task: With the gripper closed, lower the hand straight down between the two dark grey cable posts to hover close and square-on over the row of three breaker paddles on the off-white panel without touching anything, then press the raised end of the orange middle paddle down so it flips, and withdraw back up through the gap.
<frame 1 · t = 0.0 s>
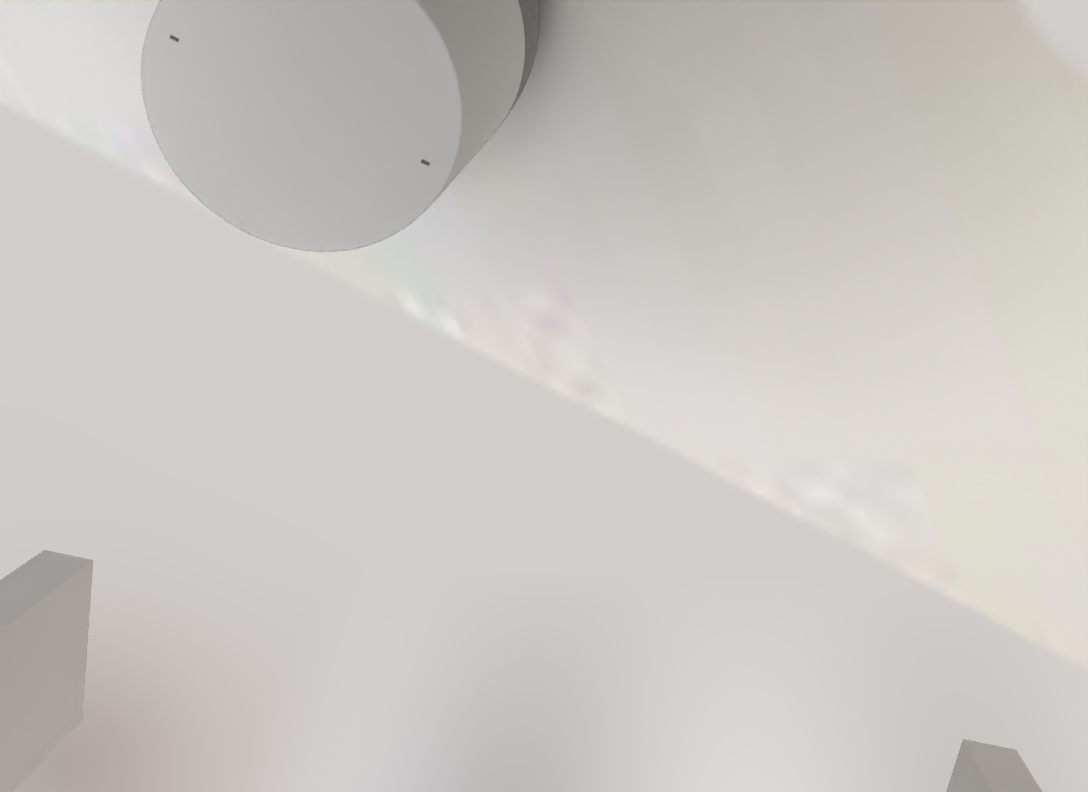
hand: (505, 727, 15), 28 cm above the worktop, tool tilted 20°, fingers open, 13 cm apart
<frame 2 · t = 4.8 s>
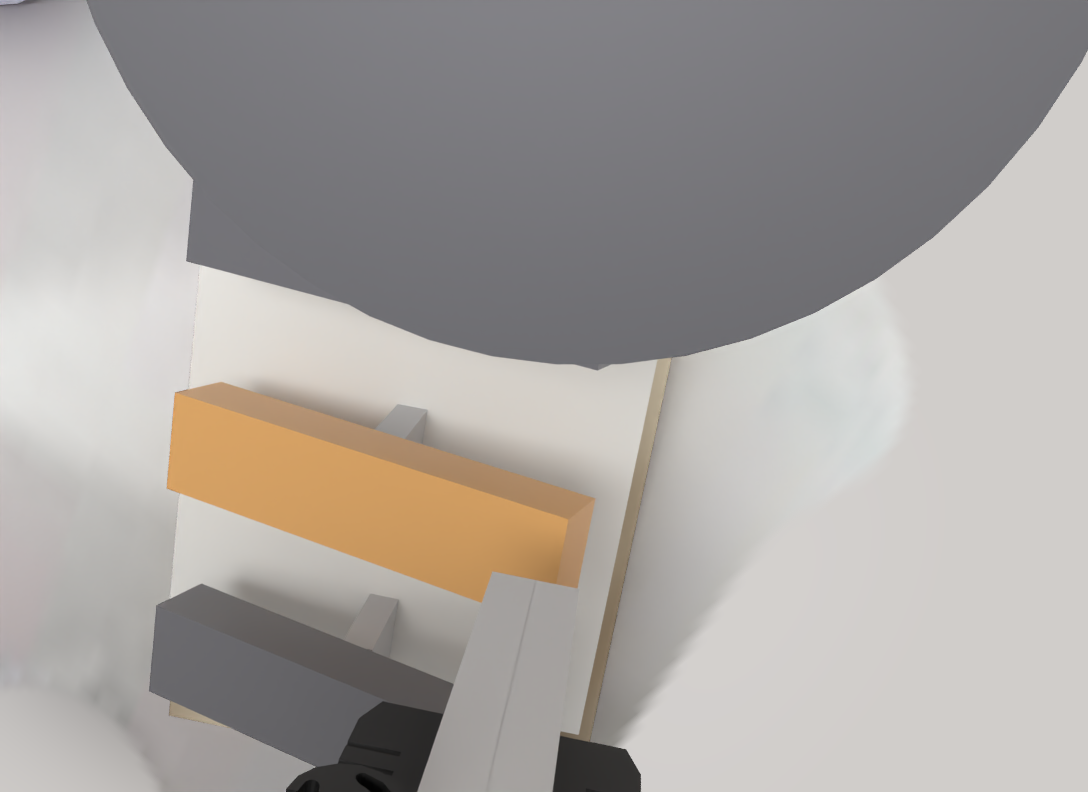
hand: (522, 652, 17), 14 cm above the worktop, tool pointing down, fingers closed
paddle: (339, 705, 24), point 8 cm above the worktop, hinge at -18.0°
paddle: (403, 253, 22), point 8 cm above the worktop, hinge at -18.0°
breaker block: (403, 447, 26), on the board, point 4 cm above the worktop
middle paddle: (369, 493, 23), point 8 cm above the worktop, hinge at -18.0°
cable posts: (512, 658, 17), on the board, point 14 cm above the worktop
board: (435, 404, 31), on the worktop
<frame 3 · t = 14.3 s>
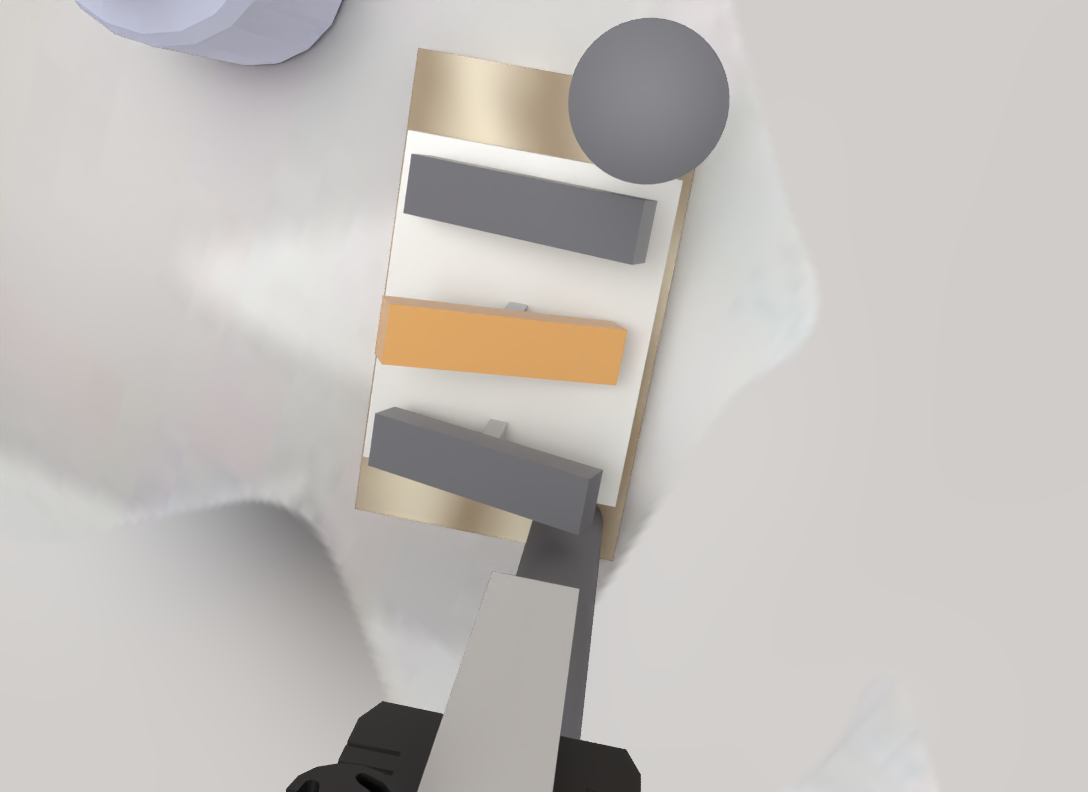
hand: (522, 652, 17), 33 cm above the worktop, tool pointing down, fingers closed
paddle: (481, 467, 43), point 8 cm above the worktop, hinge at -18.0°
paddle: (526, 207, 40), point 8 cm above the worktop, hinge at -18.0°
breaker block: (514, 326, 45), on the board, point 4 cm above the worktop
middle paddle: (503, 341, 42), point 8 cm above the worktop, hinge at 24.1°
cable posts: (592, 395, 36), on the board, point 14 cm above the worktop
board: (525, 311, 49), on the worktop
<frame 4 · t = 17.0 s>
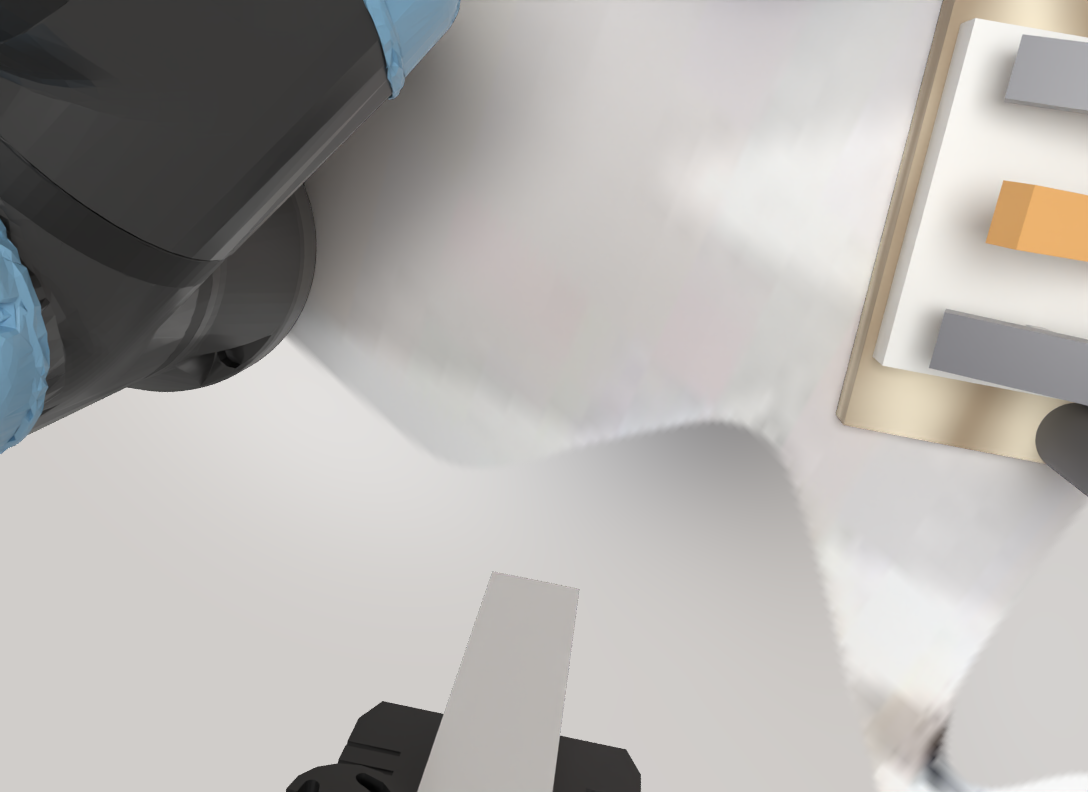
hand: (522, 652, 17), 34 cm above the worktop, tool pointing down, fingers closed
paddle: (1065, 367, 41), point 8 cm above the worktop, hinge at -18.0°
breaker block: (1070, 225, 43), on the board, point 4 cm above the worktop
board: (1031, 218, 48), on the worktop
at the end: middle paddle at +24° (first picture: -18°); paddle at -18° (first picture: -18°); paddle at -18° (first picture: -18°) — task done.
